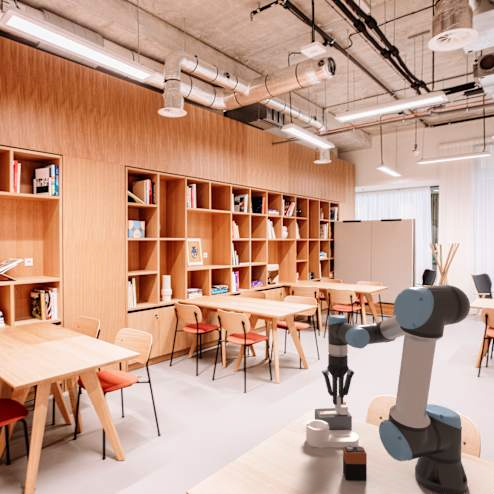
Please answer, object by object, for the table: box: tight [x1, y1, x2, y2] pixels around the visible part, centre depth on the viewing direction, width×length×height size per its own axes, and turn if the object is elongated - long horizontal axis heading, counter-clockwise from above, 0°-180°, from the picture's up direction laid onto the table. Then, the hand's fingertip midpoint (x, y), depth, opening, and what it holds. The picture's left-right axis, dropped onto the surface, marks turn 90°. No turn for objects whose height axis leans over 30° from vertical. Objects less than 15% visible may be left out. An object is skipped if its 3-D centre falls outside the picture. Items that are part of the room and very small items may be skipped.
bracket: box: [305, 419, 360, 448], centre depth 149 cm, size 20×9×7 cm, turn 91°
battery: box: [342, 445, 368, 482], centre depth 127 cm, size 4×7×10 cm, turn 88°
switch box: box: [314, 407, 353, 431], centre depth 159 cm, size 8×13×7 cm, turn 94°
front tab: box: [340, 404, 349, 415], centre depth 156 cm, size 2×3×3 cm, turn 95°
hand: (337, 411), depth 156 cm, fingers closed
